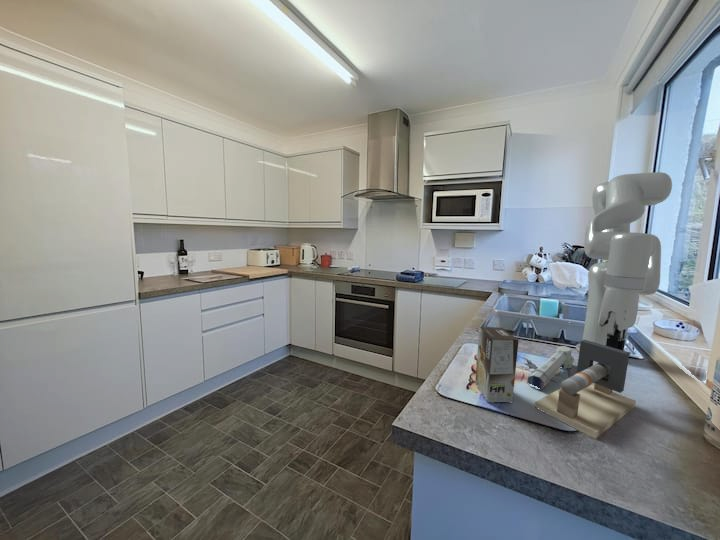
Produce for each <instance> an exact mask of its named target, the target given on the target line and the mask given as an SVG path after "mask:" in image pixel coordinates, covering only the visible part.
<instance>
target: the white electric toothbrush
mask: <svg viewBox="0 0 720 540" xmlns="http://www.w3.org/2000/svg"><path fill="white" fill-rule="evenodd" d="M555 352H556V353H554V354H552V356H551V357H550V358H548V359H547V360H546V361H545V362H544V363H542V364H541V365H540V366H539V367H538V368H536V369H534V370H532V371H531V372H530V375H529V376H528V377H527V382H526V383H527V384H528V383H529V384H532V385H534V386H537V387H538V388H540V389H541V390H543V389H544V387H546V386H547V385H549V384H550V381H551V380H552V378H553V376H554V375H555V374H557V371H559V369H562V368H568V369H569V368H571V369H572V368H573V363H574V362H575V358H574V356H573V355H572V351H571V348H570V347H569V346H566V345H560V346H558V347H557V348H556V351H555ZM560 367H562V368H560ZM529 384H528V385H529Z"/></svg>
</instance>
